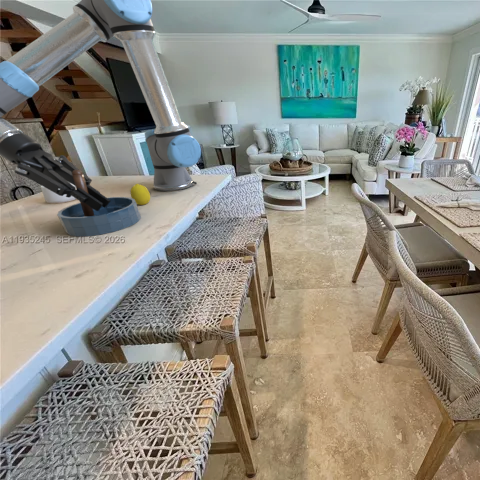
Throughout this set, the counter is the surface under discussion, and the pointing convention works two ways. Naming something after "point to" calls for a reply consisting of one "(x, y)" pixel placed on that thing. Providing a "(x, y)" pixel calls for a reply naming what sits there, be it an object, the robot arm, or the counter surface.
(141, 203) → the lemon
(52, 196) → the mug
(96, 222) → the bowl
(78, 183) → the brown wooden pestle
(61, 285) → the counter surface
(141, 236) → the counter surface
